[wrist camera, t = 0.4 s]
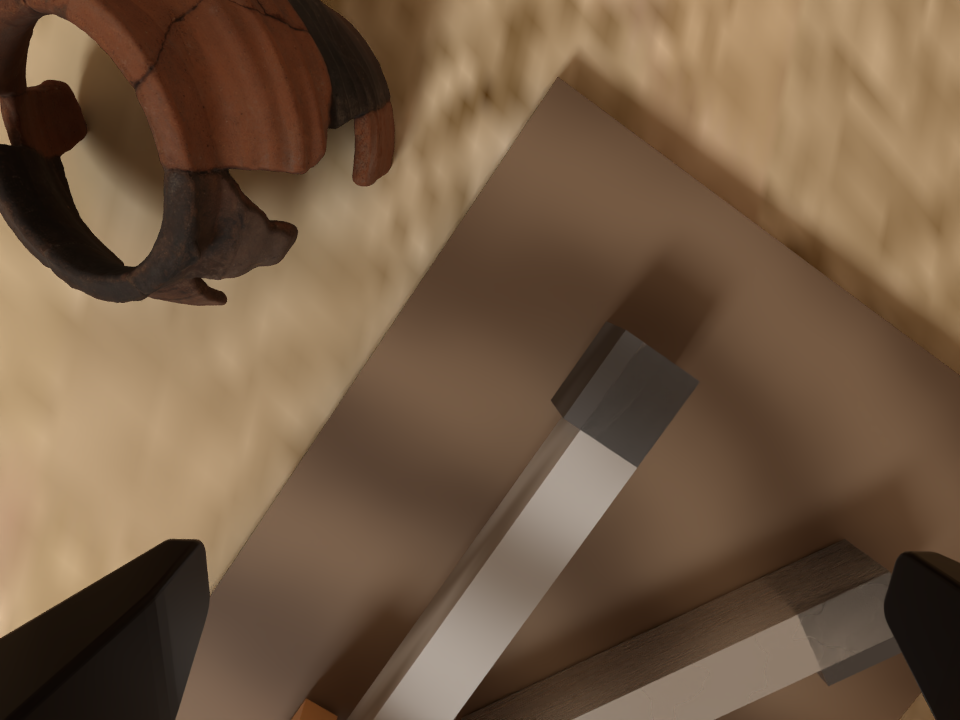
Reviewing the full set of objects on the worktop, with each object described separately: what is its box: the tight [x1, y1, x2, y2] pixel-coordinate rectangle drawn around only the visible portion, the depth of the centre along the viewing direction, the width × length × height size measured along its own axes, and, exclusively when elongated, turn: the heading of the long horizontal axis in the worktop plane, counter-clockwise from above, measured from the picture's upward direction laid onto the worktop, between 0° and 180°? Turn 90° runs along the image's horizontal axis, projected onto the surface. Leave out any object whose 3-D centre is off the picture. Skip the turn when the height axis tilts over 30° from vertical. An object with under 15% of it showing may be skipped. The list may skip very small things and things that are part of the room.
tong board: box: [175, 77, 960, 720], centre depth 23 cm, size 26×22×3 cm
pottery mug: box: [0, 0, 395, 306], centre depth 19 cm, size 12×10×8 cm
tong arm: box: [461, 539, 902, 720], centre depth 22 cm, size 14×3×2 cm, turn 116°
